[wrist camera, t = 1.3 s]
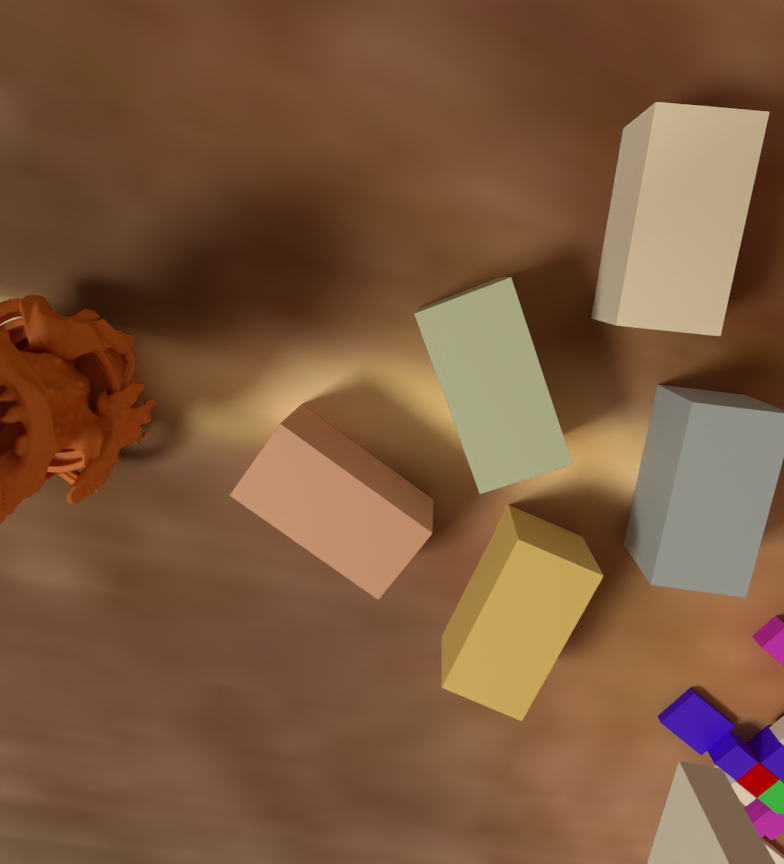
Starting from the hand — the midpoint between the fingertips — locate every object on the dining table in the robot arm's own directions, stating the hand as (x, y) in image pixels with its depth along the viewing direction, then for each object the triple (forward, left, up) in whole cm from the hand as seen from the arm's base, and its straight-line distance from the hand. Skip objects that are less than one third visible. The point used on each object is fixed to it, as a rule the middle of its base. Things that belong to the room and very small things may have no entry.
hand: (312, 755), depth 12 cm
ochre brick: (+8, +7, -24) cm, 26 cm away
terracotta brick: (+3, -3, -24) cm, 25 cm away
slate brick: (0, +15, -24) cm, 29 cm away
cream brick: (-12, +11, -24) cm, 29 cm away
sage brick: (-4, +4, -24) cm, 25 cm away
